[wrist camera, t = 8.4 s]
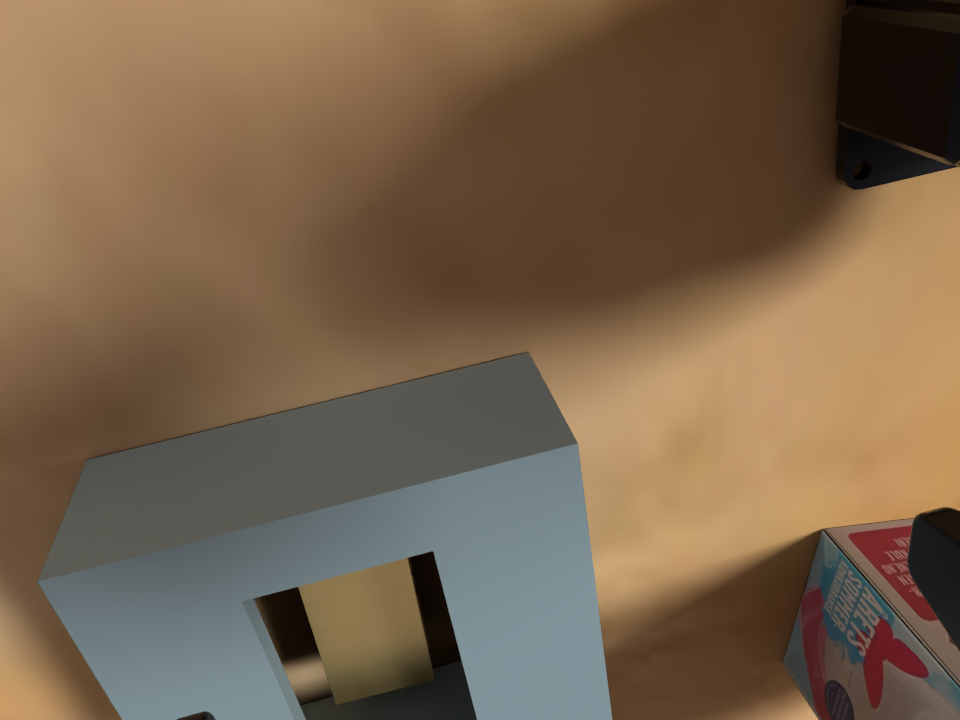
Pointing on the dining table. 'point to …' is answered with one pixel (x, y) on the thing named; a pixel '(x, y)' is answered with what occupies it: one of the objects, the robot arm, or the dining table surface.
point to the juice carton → (871, 633)
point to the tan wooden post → (369, 630)
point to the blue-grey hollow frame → (341, 551)
